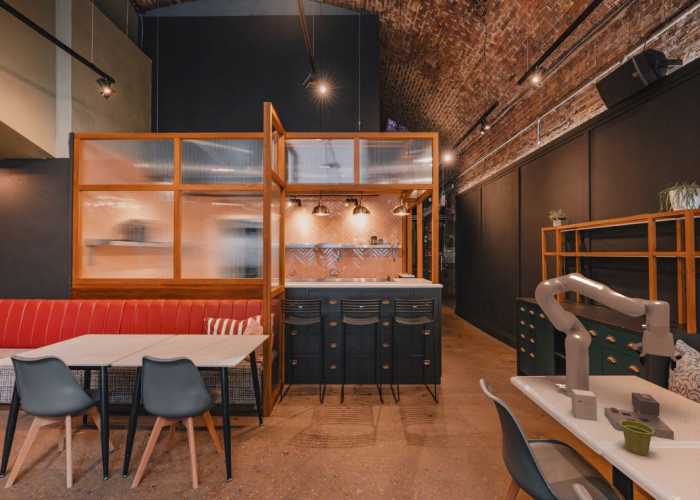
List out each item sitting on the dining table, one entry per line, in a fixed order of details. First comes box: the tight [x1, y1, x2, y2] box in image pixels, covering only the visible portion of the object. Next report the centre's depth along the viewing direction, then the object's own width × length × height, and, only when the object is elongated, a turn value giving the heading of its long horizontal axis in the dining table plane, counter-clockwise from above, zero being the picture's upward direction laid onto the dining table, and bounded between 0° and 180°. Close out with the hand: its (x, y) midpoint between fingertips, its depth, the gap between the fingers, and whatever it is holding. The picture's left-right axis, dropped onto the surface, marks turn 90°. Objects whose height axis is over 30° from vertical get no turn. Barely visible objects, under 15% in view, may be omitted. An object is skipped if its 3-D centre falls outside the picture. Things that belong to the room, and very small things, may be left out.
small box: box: [571, 389, 598, 421], centre depth 143 cm, size 8×6×10 cm
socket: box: [603, 406, 675, 440], centre depth 135 cm, size 18×14×4 cm
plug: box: [631, 392, 661, 417], centre depth 144 cm, size 6×9×9 cm
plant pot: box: [620, 420, 654, 456], centre depth 119 cm, size 9×9×9 cm
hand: (657, 367), depth 145 cm, fingers open, 9 cm apart
